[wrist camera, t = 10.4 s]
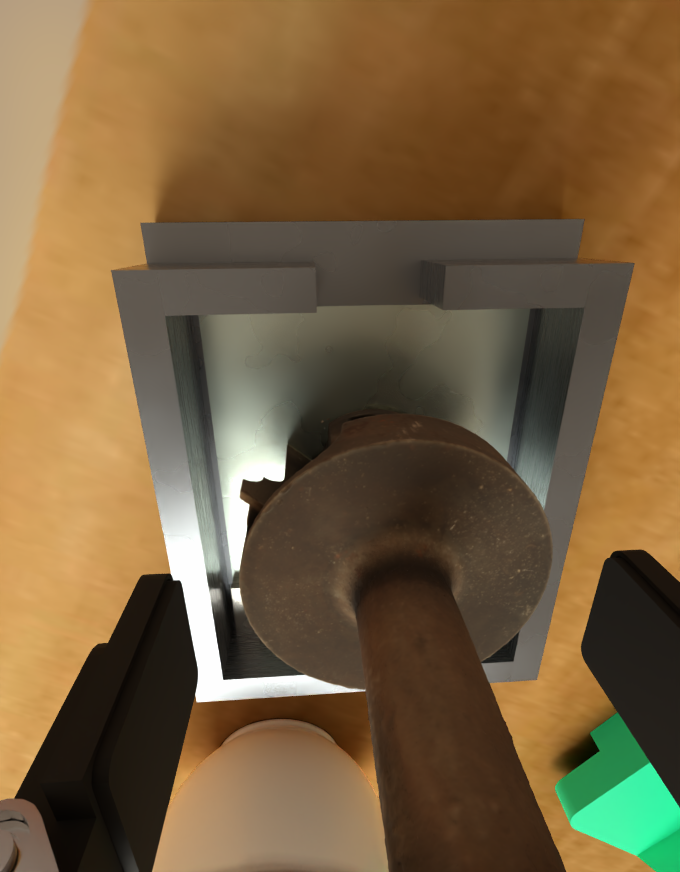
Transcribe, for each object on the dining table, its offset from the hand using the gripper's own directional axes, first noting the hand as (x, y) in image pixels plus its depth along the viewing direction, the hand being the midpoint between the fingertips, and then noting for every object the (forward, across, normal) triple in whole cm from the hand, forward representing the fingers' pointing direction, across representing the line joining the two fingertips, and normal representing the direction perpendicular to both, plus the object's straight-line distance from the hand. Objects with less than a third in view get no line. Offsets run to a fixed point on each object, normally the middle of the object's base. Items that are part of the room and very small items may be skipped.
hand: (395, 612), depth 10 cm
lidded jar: (+7, +4, +16) cm, 19 cm away
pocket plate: (+7, 0, 0) cm, 7 cm away
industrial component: (+6, -1, 0) cm, 6 cm away
